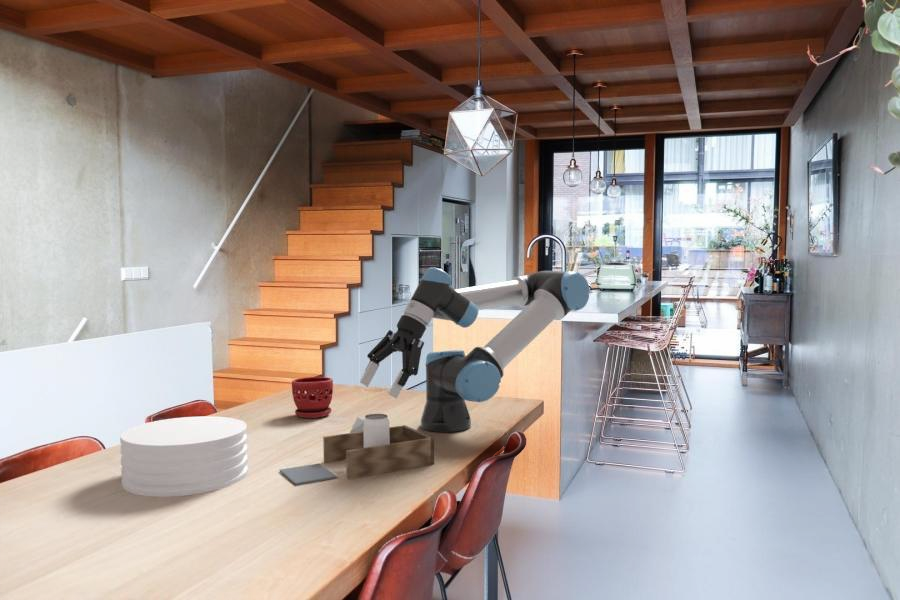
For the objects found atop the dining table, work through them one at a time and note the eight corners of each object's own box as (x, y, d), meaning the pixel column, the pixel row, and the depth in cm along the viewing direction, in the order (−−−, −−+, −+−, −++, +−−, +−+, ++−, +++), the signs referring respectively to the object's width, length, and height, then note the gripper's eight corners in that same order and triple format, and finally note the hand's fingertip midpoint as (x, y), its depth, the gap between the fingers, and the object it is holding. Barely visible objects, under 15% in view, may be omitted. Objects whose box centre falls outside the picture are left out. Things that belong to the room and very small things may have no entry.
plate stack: (126, 505, 153) (124, 451, 152) (118, 470, 178) (116, 424, 177) (259, 484, 166) (258, 435, 165) (235, 454, 191) (234, 411, 190)
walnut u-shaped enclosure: (405, 449, 195) (404, 425, 194) (434, 463, 181) (434, 438, 180) (323, 462, 183) (323, 436, 183) (348, 479, 169) (347, 451, 169)
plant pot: (341, 413, 238) (341, 377, 237) (313, 421, 227) (313, 383, 226) (312, 409, 245) (311, 374, 244) (283, 416, 234) (283, 380, 233)
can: (364, 460, 185) (363, 413, 184) (389, 459, 185) (389, 412, 184) (363, 467, 178) (362, 419, 177) (389, 466, 179) (389, 418, 178)
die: (369, 456, 190) (389, 423, 193) (340, 438, 192) (361, 406, 194) (372, 459, 198) (391, 427, 201) (344, 442, 200) (364, 410, 202)
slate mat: (318, 465, 180) (318, 463, 180) (337, 478, 170) (337, 476, 170) (279, 471, 175) (279, 469, 175) (295, 485, 165) (295, 483, 165)
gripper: (379, 307, 204) (342, 374, 199) (434, 320, 185) (395, 395, 180) (397, 320, 208) (361, 385, 203) (452, 334, 189) (415, 407, 184)
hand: (377, 390), depth 192 cm, fingers open, 13 cm apart
